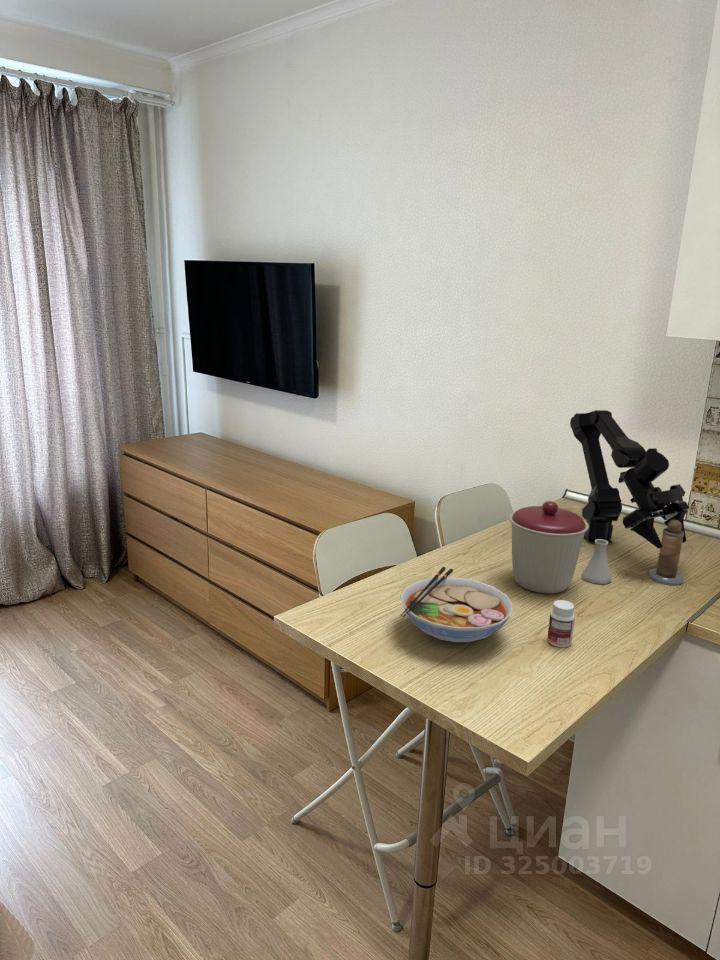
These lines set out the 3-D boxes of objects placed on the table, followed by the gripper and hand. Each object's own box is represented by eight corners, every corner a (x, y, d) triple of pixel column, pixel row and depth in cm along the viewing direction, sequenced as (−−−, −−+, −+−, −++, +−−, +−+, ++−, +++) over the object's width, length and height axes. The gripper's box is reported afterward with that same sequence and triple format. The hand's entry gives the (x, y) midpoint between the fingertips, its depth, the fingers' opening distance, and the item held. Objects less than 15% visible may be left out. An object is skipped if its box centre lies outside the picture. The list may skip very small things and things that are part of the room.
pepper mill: (661, 578, 164) (670, 523, 160) (652, 570, 169) (661, 516, 164) (679, 578, 164) (689, 523, 160) (670, 570, 169) (680, 516, 165)
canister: (550, 565, 172) (559, 487, 166) (596, 595, 156) (608, 510, 150) (488, 573, 166) (496, 493, 160) (530, 606, 150) (540, 517, 144)
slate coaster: (657, 584, 163) (657, 581, 162) (643, 571, 170) (643, 567, 170) (689, 585, 163) (690, 581, 163) (673, 572, 170) (674, 568, 170)
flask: (606, 587, 160) (611, 549, 157) (576, 579, 164) (581, 541, 162) (615, 578, 166) (621, 540, 163) (586, 570, 170) (591, 533, 167)
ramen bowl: (487, 678, 121) (491, 638, 119) (376, 644, 132) (378, 606, 129) (525, 622, 142) (529, 587, 140) (426, 596, 153) (429, 563, 150)
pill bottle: (552, 633, 138) (557, 596, 136) (574, 641, 135) (580, 604, 133) (542, 642, 134) (547, 604, 132) (565, 650, 132) (570, 612, 129)
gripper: (639, 478, 159) (672, 537, 153) (689, 470, 168) (722, 525, 162) (608, 500, 168) (638, 556, 162) (657, 491, 177) (687, 544, 171)
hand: (672, 544), depth 164 cm, fingers open, 9 cm apart
